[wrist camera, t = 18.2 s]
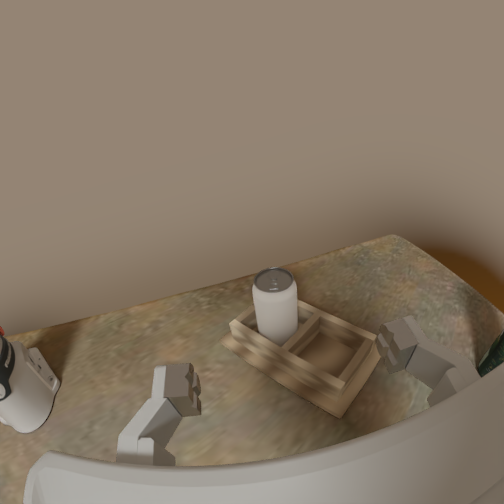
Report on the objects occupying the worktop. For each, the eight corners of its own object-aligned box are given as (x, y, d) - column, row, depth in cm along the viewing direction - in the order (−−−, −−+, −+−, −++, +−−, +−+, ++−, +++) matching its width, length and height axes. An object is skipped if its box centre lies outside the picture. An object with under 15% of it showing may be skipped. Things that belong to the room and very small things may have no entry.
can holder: (220, 343, 47) (214, 324, 44) (272, 299, 55) (270, 279, 52) (340, 419, 32) (345, 404, 29) (384, 352, 40) (391, 332, 37)
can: (296, 318, 48) (294, 263, 42) (299, 347, 43) (299, 292, 36) (259, 321, 49) (251, 267, 42) (259, 350, 43) (249, 296, 37)
